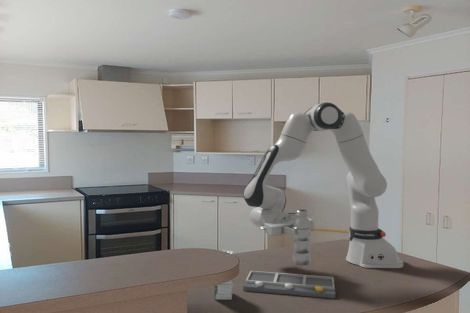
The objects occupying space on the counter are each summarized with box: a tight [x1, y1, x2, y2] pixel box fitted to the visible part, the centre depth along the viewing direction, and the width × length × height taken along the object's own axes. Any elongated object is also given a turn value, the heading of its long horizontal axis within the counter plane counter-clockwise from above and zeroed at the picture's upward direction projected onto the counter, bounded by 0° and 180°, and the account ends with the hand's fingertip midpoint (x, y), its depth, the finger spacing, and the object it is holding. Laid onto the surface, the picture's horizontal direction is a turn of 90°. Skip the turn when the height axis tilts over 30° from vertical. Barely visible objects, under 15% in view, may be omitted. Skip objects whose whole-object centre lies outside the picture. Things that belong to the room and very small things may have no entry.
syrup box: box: [213, 250, 234, 301], centre depth 128 cm, size 6×6×14 cm
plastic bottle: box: [292, 209, 312, 267], centre depth 142 cm, size 6×7×20 cm
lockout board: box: [242, 270, 336, 299], centre depth 137 cm, size 30×14×3 cm, turn 78°
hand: (303, 230), depth 142 cm, fingers closed on plastic bottle, 6 cm apart
